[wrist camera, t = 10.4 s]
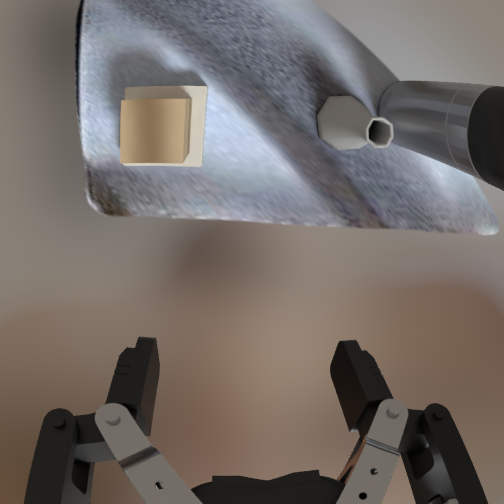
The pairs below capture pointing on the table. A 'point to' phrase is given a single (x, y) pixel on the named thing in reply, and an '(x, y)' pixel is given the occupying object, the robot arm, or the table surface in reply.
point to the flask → (352, 125)
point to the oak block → (155, 130)
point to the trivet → (197, 117)
